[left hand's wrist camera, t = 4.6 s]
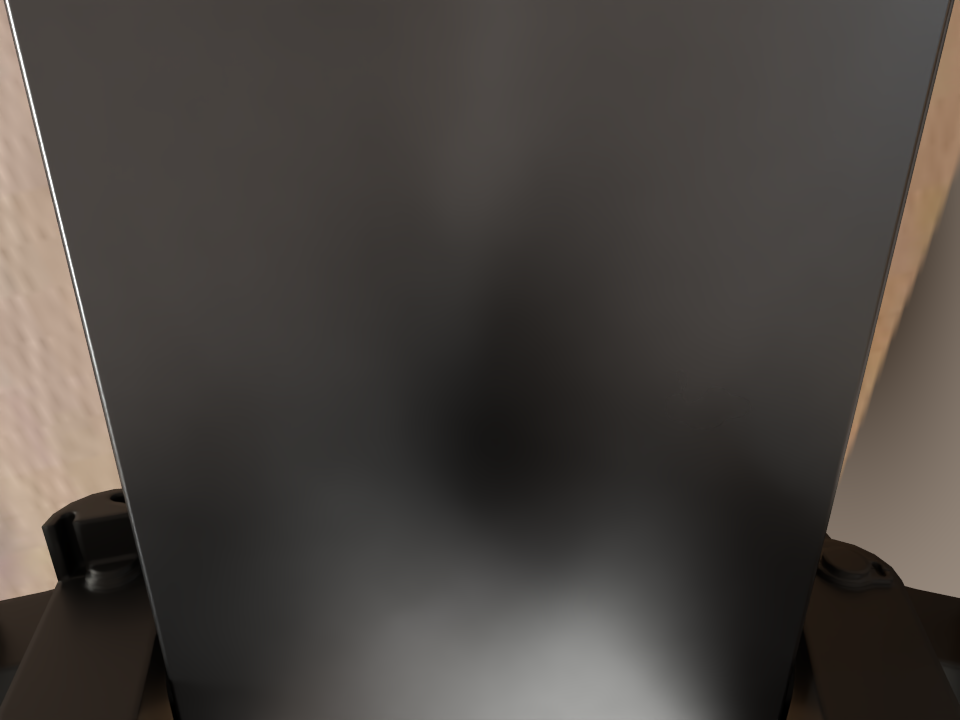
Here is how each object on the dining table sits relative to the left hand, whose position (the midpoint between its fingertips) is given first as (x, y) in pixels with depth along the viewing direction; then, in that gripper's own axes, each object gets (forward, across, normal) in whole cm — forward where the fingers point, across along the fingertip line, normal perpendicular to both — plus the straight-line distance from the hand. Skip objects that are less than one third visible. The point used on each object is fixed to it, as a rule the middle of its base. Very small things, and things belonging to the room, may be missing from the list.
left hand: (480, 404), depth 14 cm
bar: (0, 0, -9) cm, 9 cm away
